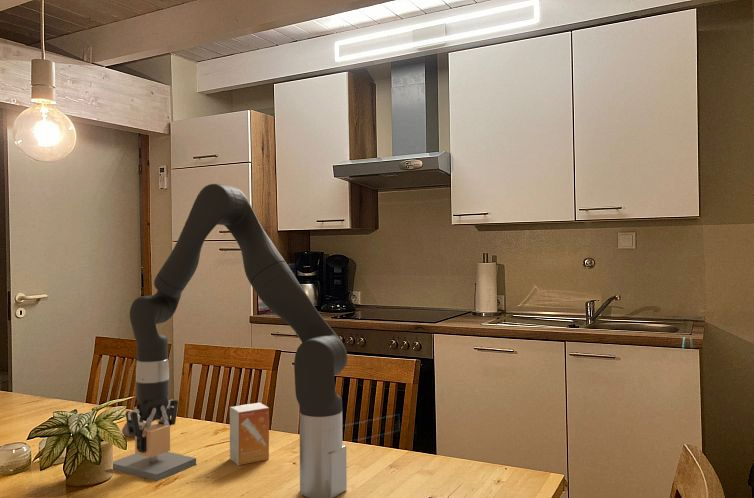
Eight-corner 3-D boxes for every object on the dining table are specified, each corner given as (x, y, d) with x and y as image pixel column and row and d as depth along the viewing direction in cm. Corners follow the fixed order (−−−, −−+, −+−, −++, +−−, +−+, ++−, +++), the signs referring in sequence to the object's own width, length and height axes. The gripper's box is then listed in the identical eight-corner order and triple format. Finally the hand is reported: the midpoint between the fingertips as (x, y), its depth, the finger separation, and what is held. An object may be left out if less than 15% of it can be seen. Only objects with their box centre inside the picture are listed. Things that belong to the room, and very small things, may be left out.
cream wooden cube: (170, 450, 148) (169, 425, 148) (151, 457, 143) (151, 432, 143) (153, 446, 151) (153, 422, 151) (135, 453, 146) (134, 428, 146)
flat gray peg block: (196, 464, 148) (195, 439, 148) (156, 481, 138) (156, 454, 138) (150, 453, 156) (150, 430, 156) (109, 468, 145) (109, 443, 145)
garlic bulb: (116, 437, 170) (116, 408, 170) (138, 430, 177) (138, 402, 177) (135, 441, 167) (134, 411, 166) (156, 434, 173) (156, 405, 173)
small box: (238, 466, 147) (238, 412, 147) (229, 458, 152) (229, 406, 152) (269, 459, 151) (269, 407, 151) (259, 452, 157) (259, 401, 157)
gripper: (138, 385, 139) (138, 460, 139) (186, 374, 151) (186, 442, 151) (116, 382, 142) (116, 454, 142) (165, 371, 155) (165, 437, 155)
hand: (152, 447), depth 147 cm, fingers closed on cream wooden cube, 5 cm apart
